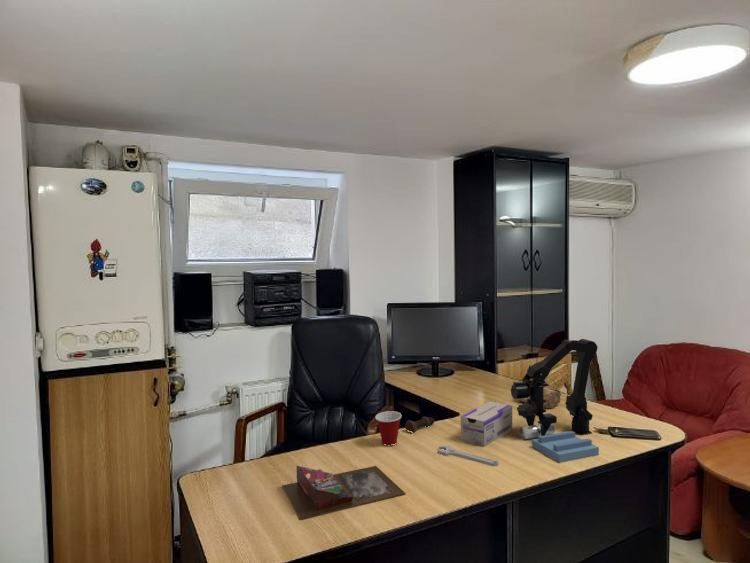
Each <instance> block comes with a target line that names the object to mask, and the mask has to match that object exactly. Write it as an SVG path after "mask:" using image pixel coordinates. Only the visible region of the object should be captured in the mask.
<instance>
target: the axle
mask: <svg viewBox="0 0 750 563" xmlns="http://www.w3.org/2000/svg"><path fill="white" fill-rule="evenodd" d="M518 432H519V433H518V434H519V436H520V438H521V439H522V440H532V439H538V436H541V427H540V424H539V423H538V424H534V425H532V426H528V425H527V426H521V427H519V430H518ZM555 432H556V428H555V426H554V423H552V424H551V426H550V427H549V429H548V431H547V432H546V434H545V435H550V434H556V433H555Z"/></svg>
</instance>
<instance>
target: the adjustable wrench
mask: <svg viewBox="0 0 750 563" xmlns="http://www.w3.org/2000/svg"><path fill="white" fill-rule="evenodd" d="M441 449H444V450H441ZM445 450H446V451H445ZM437 453H438V454H439V453H440V454H439V455H441V454H442V456H445V457H448V455H453V457H454V456H455V457H459V458H463V459H466V460H470V461H473V462H477V463H481V464H485V465H489V466H493V467H498V466H500V465H499V461H498V460H495V459H493V458H492V459H491V458H487V457H483V456H479V455H475V454H472V453H467V452H463V451H459V450H456V449H455V448H453V447H451V446H449V445H439V446H438V449H437Z"/></svg>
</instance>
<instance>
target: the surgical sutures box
mask: <svg viewBox="0 0 750 563" xmlns="http://www.w3.org/2000/svg"><path fill="white" fill-rule="evenodd" d="M512 430H513V405H510V404H504V403H499V402H493V401H488V402H486V403H484V404H482V405H480V406H478V407H476V408H474V409H472V410H470V411H468V412H466V413H464V414H462V415H460V441H461V442H462V443H467V444H471V445H475V446H478V447H483V448H486V447H487V446H488V445H490V444H492V443H494V442H495V441H496V440H498V439H500V438H501V437H503V436H505V435H506V434H508V433H509V432H511V431H512Z"/></svg>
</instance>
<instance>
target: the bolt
mask: <svg viewBox="0 0 750 563" xmlns="http://www.w3.org/2000/svg"><path fill="white" fill-rule="evenodd" d="M434 423H435V419H434V418H433V417H432V416H430V417H428V416H422V417H421V419H419V420H416V421H413V420H411V419H409V420H407V421H406V422H405V426H404V427H405V430H406V429H407V430H409V431H412V432H414V431H415V432H416V430H417V429H421V428H425V427H424V426H426V427H428V426H429V427H430V426H431V425H433V424H434ZM429 427H428V428H429ZM407 430H406V431H407ZM415 432H414V433H415Z"/></svg>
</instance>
